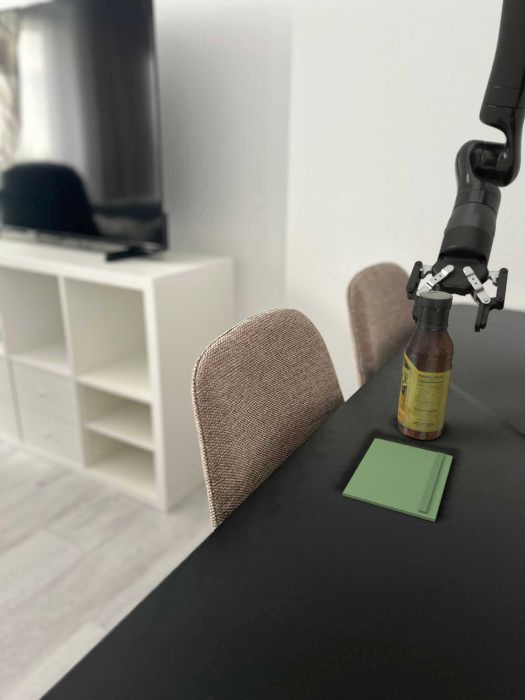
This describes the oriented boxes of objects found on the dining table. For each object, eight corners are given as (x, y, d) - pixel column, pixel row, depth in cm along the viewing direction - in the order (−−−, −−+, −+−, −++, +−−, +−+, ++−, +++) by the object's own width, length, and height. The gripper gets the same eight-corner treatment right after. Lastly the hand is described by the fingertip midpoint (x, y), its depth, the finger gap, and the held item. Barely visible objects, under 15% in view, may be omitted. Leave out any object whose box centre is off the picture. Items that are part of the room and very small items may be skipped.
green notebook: (374, 440, 69) (375, 435, 69) (452, 458, 65) (453, 454, 65) (342, 495, 57) (342, 490, 57) (434, 522, 53) (435, 516, 53)
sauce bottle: (403, 417, 76) (418, 285, 69) (446, 428, 73) (467, 291, 66) (389, 436, 70) (404, 294, 64) (436, 448, 67) (457, 301, 61)
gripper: (515, 257, 82) (496, 345, 76) (424, 250, 88) (401, 331, 83) (518, 226, 76) (499, 319, 70) (420, 221, 82) (395, 306, 76)
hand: (446, 325), depth 76 cm, fingers open, 8 cm apart
